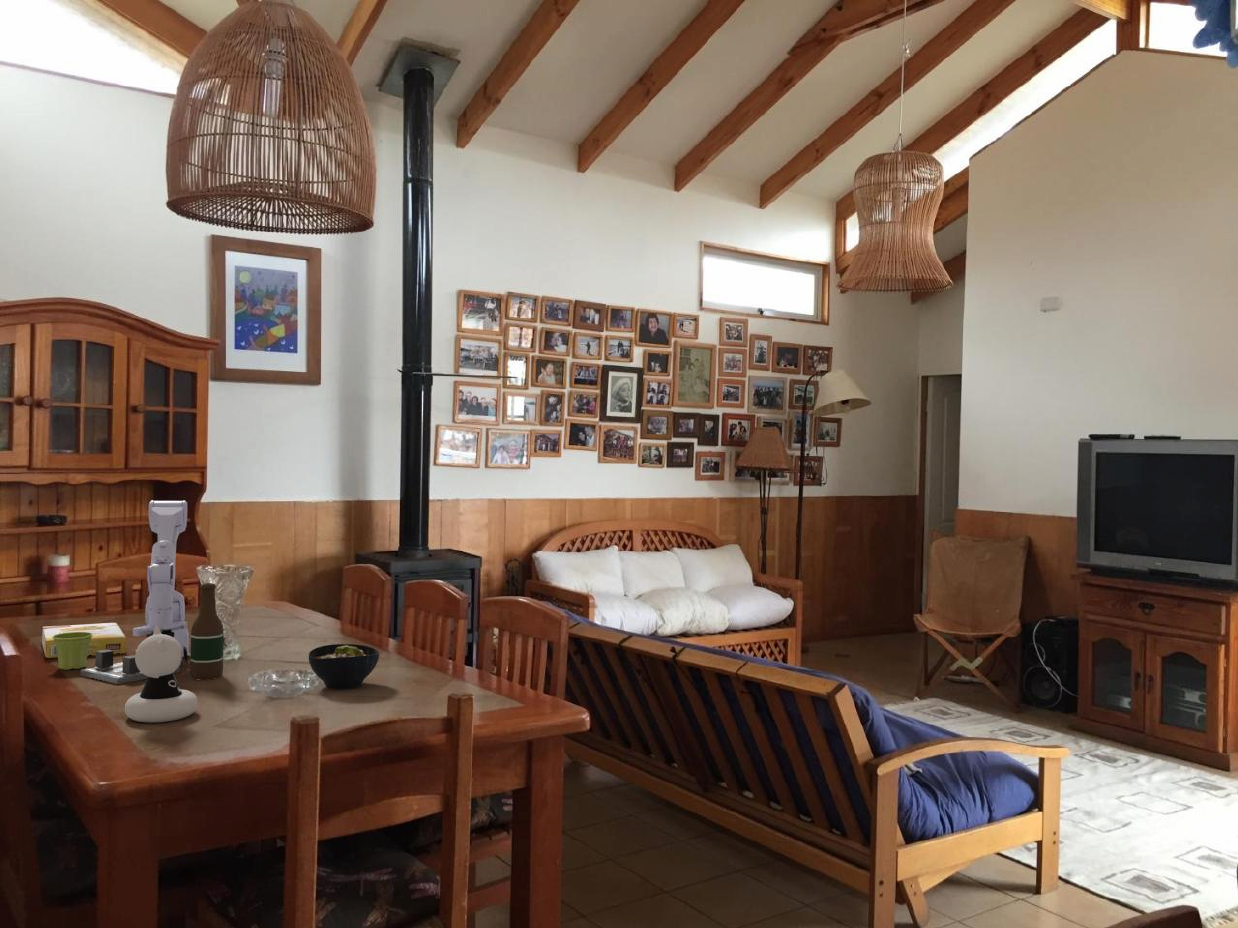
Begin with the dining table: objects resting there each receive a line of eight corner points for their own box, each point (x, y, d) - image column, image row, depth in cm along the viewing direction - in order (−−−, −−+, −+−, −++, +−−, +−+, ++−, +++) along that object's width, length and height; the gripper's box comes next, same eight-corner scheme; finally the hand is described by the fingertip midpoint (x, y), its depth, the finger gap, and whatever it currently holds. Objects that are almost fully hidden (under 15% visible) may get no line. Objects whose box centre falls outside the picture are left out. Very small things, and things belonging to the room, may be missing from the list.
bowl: (315, 696, 237) (315, 654, 237) (302, 681, 252) (303, 642, 252) (386, 690, 245) (386, 649, 245) (369, 675, 260) (370, 637, 260)
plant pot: (74, 672, 257) (75, 638, 257) (43, 670, 259) (43, 636, 259) (100, 665, 266) (101, 632, 266) (70, 662, 268) (70, 630, 268)
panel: (142, 664, 268) (143, 643, 268) (179, 672, 260) (179, 650, 260) (80, 675, 254) (81, 653, 254) (117, 684, 245) (117, 660, 245)
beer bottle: (229, 675, 258) (231, 582, 257) (208, 681, 250) (209, 586, 250) (205, 672, 260) (206, 581, 260) (183, 678, 253) (184, 584, 253)
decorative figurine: (203, 719, 215) (205, 627, 215) (129, 728, 207) (130, 633, 207) (191, 704, 227) (192, 617, 227) (120, 712, 220) (121, 622, 219)
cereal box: (46, 640, 272) (41, 624, 296) (45, 660, 272) (40, 642, 296) (127, 635, 283) (116, 620, 307) (127, 655, 283) (116, 638, 307)
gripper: (144, 613, 255) (143, 665, 255) (194, 606, 268) (193, 656, 268) (128, 610, 259) (127, 662, 259) (178, 604, 271) (177, 653, 271)
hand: (160, 659), depth 264 cm, fingers closed
